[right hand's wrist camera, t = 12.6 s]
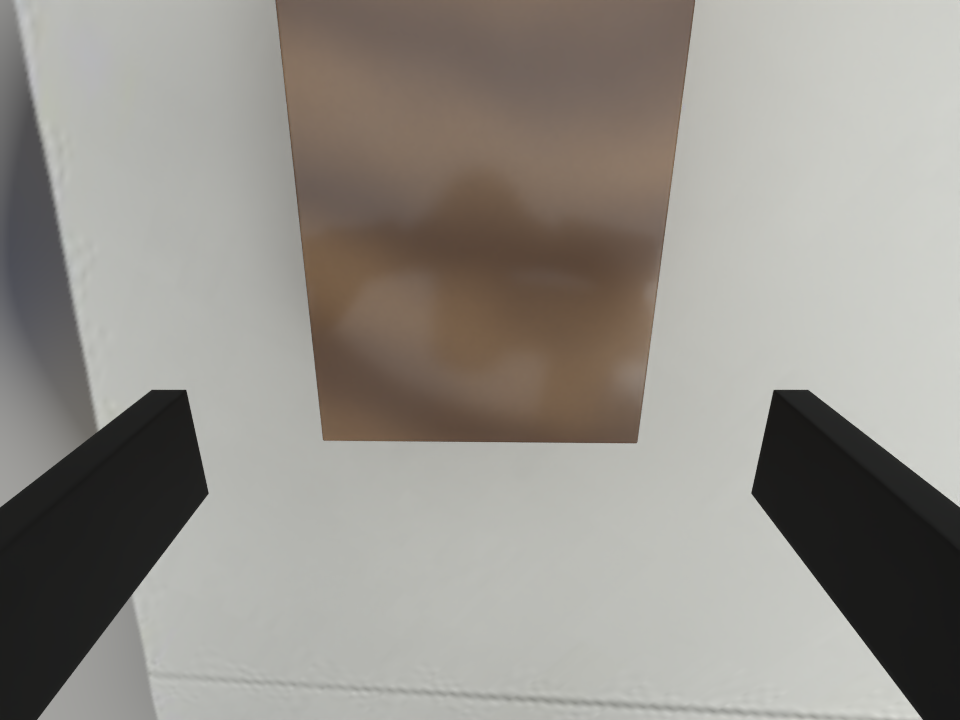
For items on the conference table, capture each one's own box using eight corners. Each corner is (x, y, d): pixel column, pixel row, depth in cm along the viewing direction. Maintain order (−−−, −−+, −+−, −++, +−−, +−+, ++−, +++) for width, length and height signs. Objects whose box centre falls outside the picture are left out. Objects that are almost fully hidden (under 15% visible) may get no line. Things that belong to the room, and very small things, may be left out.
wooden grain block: (344, -2, 22) (265, -82, 14) (623, 1, 22) (705, -77, 14) (368, 352, 28) (322, 441, 20) (591, 354, 28) (637, 443, 20)
